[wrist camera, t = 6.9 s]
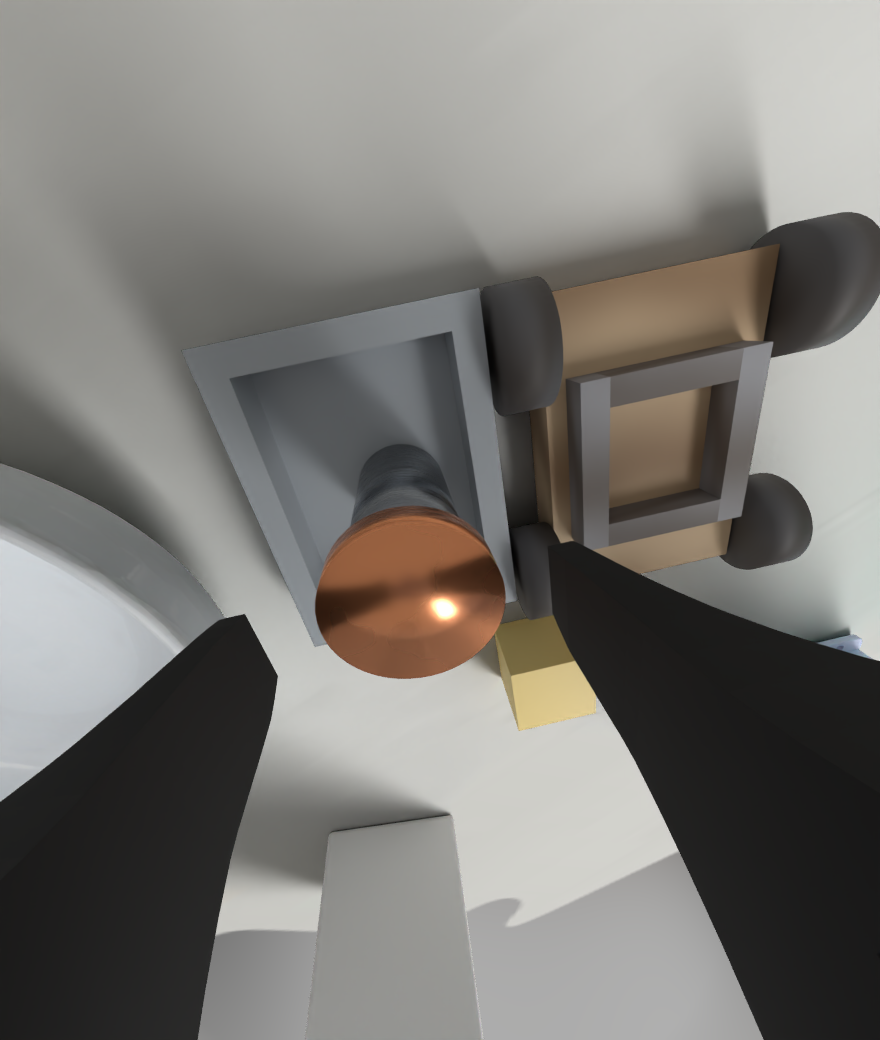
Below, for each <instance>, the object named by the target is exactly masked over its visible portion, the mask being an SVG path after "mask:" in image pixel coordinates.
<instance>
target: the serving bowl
mask: <svg viewBox="0 0 880 1040" xmlns="http://www.w3.org/2000/svg"><path fill="white" fill-rule="evenodd" d="M221 619H225V617H224V616H223V614H222V612H221V611H220V609H219V608H218V606H217V605H216V604H215V602H214V601H213V599H212V598H211V596H210V595H209V594H208V593H207V591H206V590H205V589H204V588H203V587H202V585H201V584H200V583H199V582H198V581H197V579H196V578H195V577H194V576H193V575H192V574H191V573H190V572H189V571H188V570H187V569H186V568H185V567H184V566H183V565H182V564H181V563H180V562H179V561H178V560H177V559H176V558H175V557H173V556H172V555H171V554H170V553H169V552H168V551H167V550H165V549H164V548H163V547H162V546H160V545H159V544H158V543H156V542H155V541H154V540H152V539H151V538H150V537H148V536H147V535H146V534H144V533H143V532H141V531H140V530H139V529H137V528H136V527H134V526H133V525H131V524H130V523H128V522H126V521H125V520H123V519H122V518H120V517H119V516H117V515H115V514H114V513H112V512H110V511H109V510H107V509H105V508H103V507H102V506H100V505H98V504H96V503H94V502H92V501H90V500H88V499H86V498H84V497H82V496H80V495H78V494H76V493H74V492H72V491H70V490H67V489H65V488H63V487H61V486H59V485H56V484H54V483H52V482H49V481H47V480H44V479H42V478H40V477H37V476H35V475H32V474H29V473H27V472H24V471H22V470H19V469H16V468H13V467H10V466H7V465H4V464H1V463H0V801H2V800H3V799H4V798H6V797H7V796H8V795H10V794H11V793H12V792H14V791H15V790H16V789H18V788H19V787H20V786H21V785H23V784H24V783H25V782H27V781H28V780H29V779H31V778H32V777H33V776H35V775H36V774H37V773H39V772H40V771H41V770H42V769H44V768H45V767H46V766H48V765H49V764H50V763H51V762H53V761H54V760H55V759H56V758H58V757H59V756H60V755H61V754H63V753H64V752H65V751H66V750H68V749H69V748H70V747H71V746H73V745H74V744H75V743H76V742H77V741H79V740H80V739H81V738H82V737H83V736H85V735H86V734H87V733H88V732H89V731H90V730H92V729H93V728H94V727H95V726H96V725H97V724H99V723H100V722H101V721H102V720H103V719H105V718H106V717H107V716H108V715H109V714H110V713H112V712H113V711H114V710H115V709H116V708H118V707H119V706H120V705H121V704H122V703H123V702H125V701H126V700H127V699H128V698H129V697H130V696H132V695H133V694H134V693H135V692H136V691H137V690H138V689H139V688H141V687H142V686H143V685H144V684H145V683H146V682H147V681H148V680H150V679H151V678H152V677H153V676H154V675H155V674H156V673H157V672H159V671H160V670H161V669H162V668H163V667H164V666H165V665H166V664H168V663H169V662H170V661H171V660H172V659H173V658H174V657H175V656H176V655H178V654H179V653H180V652H181V651H182V650H183V649H184V648H185V647H187V646H188V645H189V644H190V643H191V642H192V641H193V640H195V639H196V638H197V637H198V636H199V635H200V634H202V633H203V632H204V631H205V630H206V629H208V628H209V627H210V626H211V625H213V624H214V623H215V622H217V621H218V620H221Z"/></svg>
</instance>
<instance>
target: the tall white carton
mask: <svg viewBox="0 0 880 1040" xmlns="http://www.w3.org/2000/svg"><path fill="white" fill-rule="evenodd" d="M305 1040H483V1034H482V1026H481V1020H480V1011H479V1004H478V996H477V989H476V981H475V974H474V967H473V959H472V952H471V944H470V937H469V929H468V922H467V914H466V907H465V899H464V892H463V884H462V877H461V869H460V862H459V854H458V847H457V840H456V832H455V825H454V819H453V817H452V816H451V815H448V816H441V817H434V818H427V819H420V820H413V821H406V822H399V823H392V824H385V825H378V826H371V827H364V828H357V829H351V830H344V831H337V832H332V833H330V835H329V837H328V845H327V854H326V862H325V871H324V879H323V888H322V897H321V905H320V914H319V922H318V931H317V940H316V949H315V957H314V965H313V974H312V983H311V991H310V1000H309V1008H308V1017H307V1026H306V1034H305Z"/></svg>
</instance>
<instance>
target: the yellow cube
mask: <svg viewBox="0 0 880 1040" xmlns="http://www.w3.org/2000/svg"><path fill="white" fill-rule="evenodd" d="M495 640H496V646H497V653H498V659H499V665H500V671H501V677H502V680H503V684H504V687H505V690H506V693H507V696H508V699H509V702H510V705H511V708H512V711H513V714H514V717H515V720H516V723H517V727H518V730H519V731H521V730H526V729H530V728H534V727H538V726H542V725H547V724H551V723H555V722H559V721H564V720H568V719H572V718H576V717H580V716H585V715H589V714H593V713H596V694H595V693H594V691H593V689H592V688H591V686H590V684H589V683H588V681H587V680H586V678H585V676H584V675H583V673H582V671H581V670H580V668H579V666H578V665H577V663H576V661H575V660H574V658H573V656H572V655H571V653H570V651H569V649H568V647H567V645H566V643H565V640H564V638H563V636H562V634H561V632H560V629H559V627H558V625H557V623H556V620H555V618H554V616H553V615H552V616H547V617H543V618H539V619H534V620H529V619H528V618H525V619H521V620H516V621H512V622H508V623H503V624H500V625H499V627H498V629H497V630H496V632H495Z"/></svg>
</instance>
